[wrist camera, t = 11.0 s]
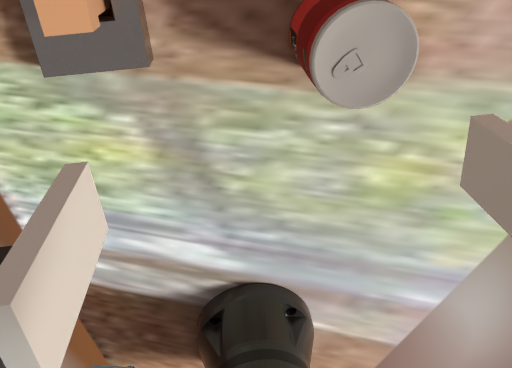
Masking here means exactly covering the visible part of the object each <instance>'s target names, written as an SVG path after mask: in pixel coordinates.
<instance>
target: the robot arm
mask: <svg viewBox="0 0 512 368" xmlns="http://www.w3.org/2000/svg"><path fill="white" fill-rule="evenodd" d="M460 186H461V187H462V188H463V189H464V190H465V191H466V192H467V193H468V194H469V195H470V196H471V197H472V198H473V199H474V200H475V201H476V202H477V203H478V204H479V205H480V206H481V207H482V208H483V209H484V210H485V211H486V212H487V213H488V214H489V215H490V216H491V217H492V218H493V219H494V220H495V221H496V222H497V223H498V224H499V225H500V226H501V227H502V228H503V229H504V230H505V231H506V232H507V233H508V234H509V235H510V236H511V237H512V126H511V125H510V124H508V123H507V122H505V121H503V120H502V119H500V118H499V117H497V116H495V115H494V114H486V115H478V116H471V119H470V126H469V132H468V138H467V144H466V151H465V157H464V163H463V170H462V176H461V182H460ZM107 232H108V226H107V222H106V219H105V216H104V213H103V209H102V206H101V203H100V200H99V196H98V193H97V190H96V187H95V183H94V180H93V177H92V173H91V170H90V167H89V164H88V162H81V163H72V164H65V165H64V166H63V168H62V170H61V171H60V173H59V174H58V176H57V177H56V179H55V181H54V182H53V184H52V185H51V187H50V188H49V190H48V191H47V193H46V195H45V196H44V198H43V199H42V201H41V202H40V204H39V206H38V207H37V209H36V210H35V212H34V213H33V215H32V216H31V218H30V220H29V221H28V223H27V224H26V226H25V227H24V229H23V231H22V232H21V234H20V235H19V237H18V238H17V240H16V242H15V243H14V245H13V246H6V247H0V368H60V367H61V364H62V361H63V359H64V356H65V353H66V350H67V347H68V344H69V341H70V338H71V336H72V332H73V330H74V327H75V324H76V321H77V318H78V315H79V313H80V310H81V307H82V304H83V301H84V298H85V295H86V293H87V290H88V287H89V284H90V281H91V278H92V275H93V272H94V270H95V267H96V264H97V261H98V258H99V255H100V252H101V249H102V247H103V244H104V241H105V238H106V235H107ZM313 339H314V328H313V323H312V319H311V315H310V312H309V309H308V307H307V305H306V304H305V302H304V301H303V300H302V299H301V298H300V297H299V296H298V295H296V294H295V293H293V292H292V291H290V290H288V289H285V288H282V287H279V286H275V285H270V284H249V285H243V286H239V287H235V288H232V289H230V290H227V291H225V292H223V293H222V294H220V295H218V296H217V297H215V298H214V299H213V300H212V301H210V302H209V303H208V304H207V306H206V307H205V308H204V309H203V311H202V313H201V315H200V317H199V320H198V324H197V346H198V350H199V353H200V356H201V358H202V361H203V364H204V366H205V368H310V360H311V353H312V346H313ZM89 368H134V366H127V367H118V366H105V365H95V366H92V367H89Z"/></svg>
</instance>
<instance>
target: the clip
mask: <svg viewBox="0 0 512 368" xmlns="http://www.w3.org/2000/svg"><path fill="white" fill-rule="evenodd" d="M34 4H35V7H36V10H37V14H38V17H39V20H40V23H41V27H42V30H43V33H44V37H47V36H57V35H67V34H77V33H88V32H94V31H95V30H96V29H97V28H98V27H100V22H99V18H98V15H100V14H101V13H102V12H104V11H105V10H107V9H108V8H109V7H111V5H110V1H109V0H34Z"/></svg>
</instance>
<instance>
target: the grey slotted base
mask: <svg viewBox="0 0 512 368" xmlns="http://www.w3.org/2000/svg"><path fill="white" fill-rule="evenodd" d="M19 1H20V4H21V7H22V10H23V13H24V16H25V20H26V23H27V26H28V29H29V32H30V35H31V38H32V42H33V45H34V48H35V51H36V54H37V57H38V60H39V64H40V67H41V70H42V73H43V76H44V78H45V77H55V76H65V75H74V74H84V73H94V72H104V71H114V70H124V69H134V68H143V67H150V65H151V62H152V60H153V54H152V49H151V44H150V39H149V33H148V28H147V23H146V18H145V13H144V7H143V2H142V0H111V4H112V8H113V13H114V16H105V17H98V18H99V22H100V27H98V28H97V29H96V30H95V31H94V32H88V33H77V34H67V35H57V36H47V37H44V33H43V30H42V27H41V23H40V20H39V17H38V14H37V10H36V7H35V4H34V0H19Z"/></svg>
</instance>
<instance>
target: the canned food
mask: <svg viewBox="0 0 512 368" xmlns="http://www.w3.org/2000/svg"><path fill="white" fill-rule="evenodd" d="M289 37H290V45H291V49H292V51H293V54H294V56H295V57H296V59H297V60H298V62H299V63H300V65H301V66H302V68H303V69H304V71H305V72H306V74H307V75H308V77H309V78H310V80H311V81H312V83H313V84H314V86H315V87H316V88H317V89H318V91H319V92H320V93H321V95H323V96H324V97H325V98H326V99H328V100H329V101H330V102H332V103H334V104H336V105H338V106H341V107H345V108H349V109H361V108H368V107H371V106H374V105H377V104H379V103H381V102H383V101H385V100H387V99H389V98H390V97H391V96H393V95H394V94H395V93H397V91H398V90H399V89H400V88H401V87H402V86H403V85H404V84H405V83H406V81H407V80H408V79H409V77H410V76H411V74H412V71H413V69H414V67H415V65H416V61H417V58H418V53H419V37H418V32H417V29H416V26H415V24H414V22H413V21H412V19H411V17H410V16H409V15H408V14H407V13H406V12H405V11H404V10H403V9H401V8H400V7H399V6H397V5H395V4H394V3H392V2H389V1H387V0H304V1H303V2H302V3H301V5H300V6H299V7H298V9H297V11H296V12H295V14H294V16H293V19H292V22H291V25H290V32H289Z"/></svg>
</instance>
